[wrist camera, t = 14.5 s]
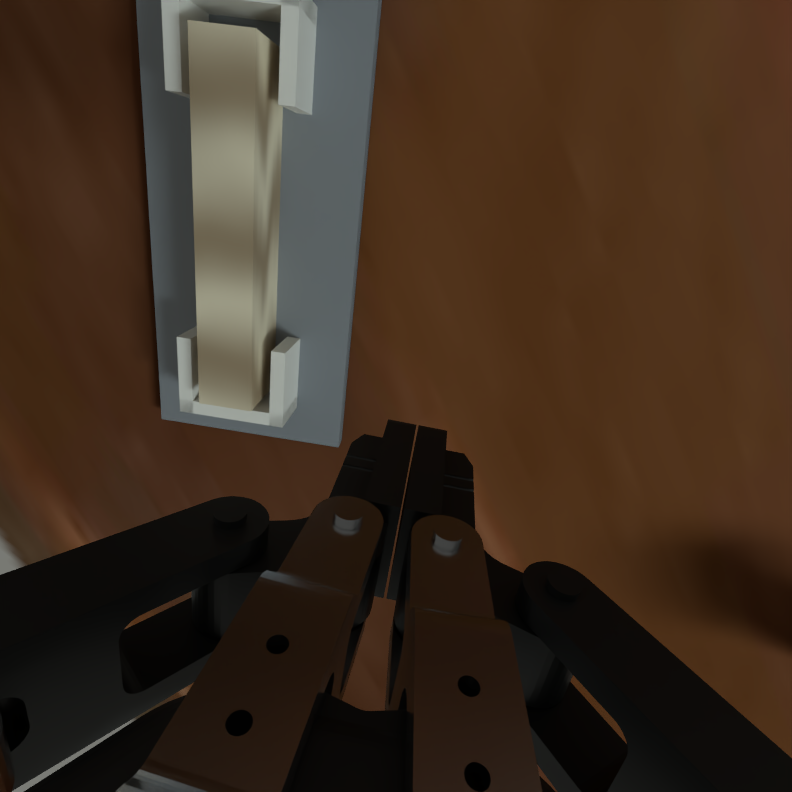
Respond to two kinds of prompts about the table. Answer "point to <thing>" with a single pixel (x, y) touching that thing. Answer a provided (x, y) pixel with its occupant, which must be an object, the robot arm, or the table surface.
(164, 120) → the cap board
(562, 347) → the table surface
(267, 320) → the slat
